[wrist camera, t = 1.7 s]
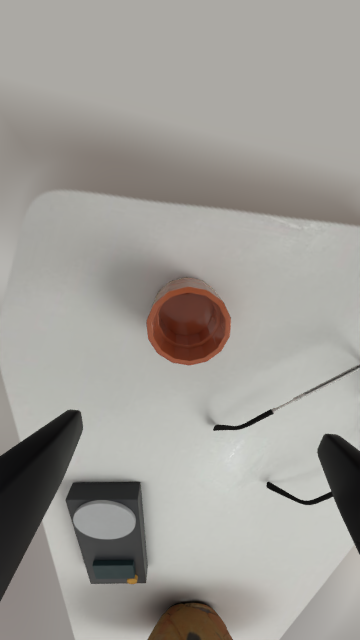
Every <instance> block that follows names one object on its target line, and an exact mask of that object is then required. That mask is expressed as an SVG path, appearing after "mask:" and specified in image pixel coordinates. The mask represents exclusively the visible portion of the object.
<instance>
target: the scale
mask: <svg viewBox="0 0 360 640" xmlns="http://www.w3.org/2000/svg"><path fill="white" fill-rule="evenodd" d="M66 503H67V506H68V509H69V513H70V516H71V519H72V523H73V526H74V529H75V533H76V536H77V539H78V543H79V546H80V549H81V553H82V556H83V559H84V563H85V566H86V569H87V573H88V576H89V579H90V583H91V584H115V583H129V584H135V583H146V578H147V568H148V564H147V553H146V541H145V530H144V518H143V507H142V496H141V484H140V482H123V483H73V484H72V486H71V489H70V491H69V493H68V496H67V498H66Z"/></svg>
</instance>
